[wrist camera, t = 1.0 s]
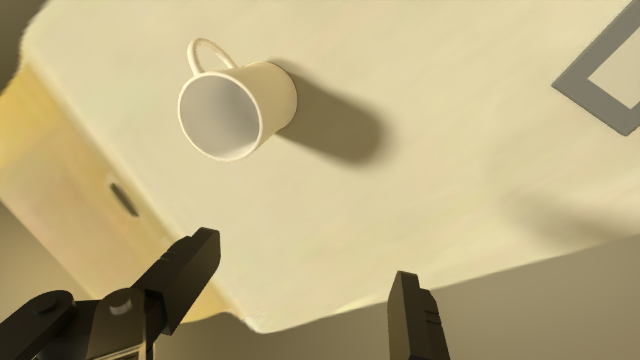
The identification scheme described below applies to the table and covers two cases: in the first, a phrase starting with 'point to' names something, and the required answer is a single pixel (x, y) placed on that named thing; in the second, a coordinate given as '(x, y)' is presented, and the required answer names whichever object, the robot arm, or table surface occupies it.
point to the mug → (234, 105)
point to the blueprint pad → (609, 73)
